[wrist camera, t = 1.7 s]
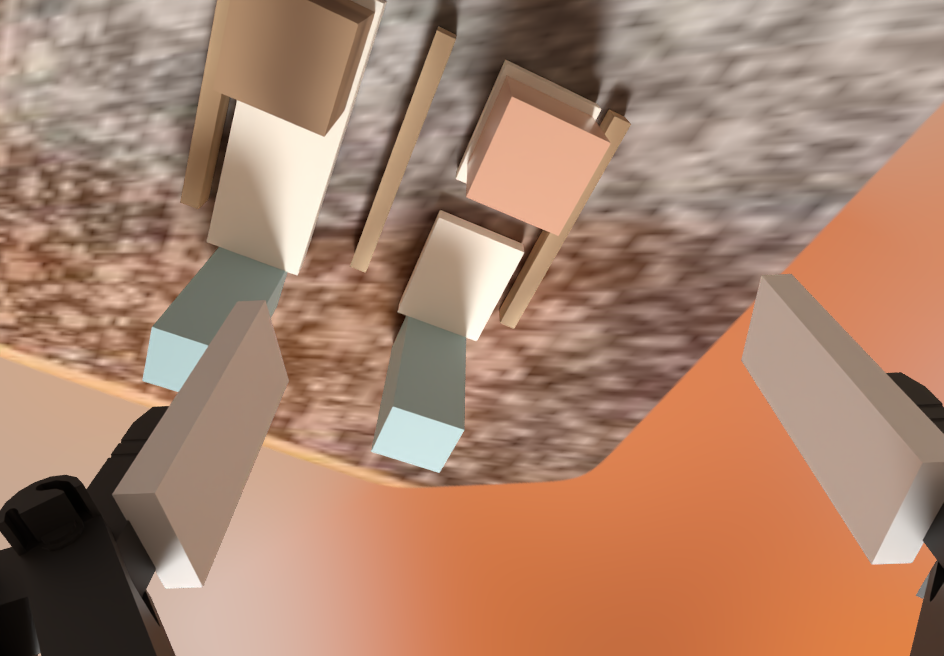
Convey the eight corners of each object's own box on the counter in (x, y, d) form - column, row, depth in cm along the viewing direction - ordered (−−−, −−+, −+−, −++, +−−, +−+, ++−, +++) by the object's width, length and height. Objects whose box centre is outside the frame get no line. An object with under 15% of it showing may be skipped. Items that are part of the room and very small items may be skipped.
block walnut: (249, 69, 30) (212, 89, 26) (272, -37, 28) (236, -34, 23) (344, 111, 31) (324, 136, 27) (375, 12, 29) (358, 24, 24)
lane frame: (191, 192, 35) (180, 202, 34) (241, -70, 28) (229, -70, 27) (512, 315, 40) (514, 328, 38) (624, 116, 33) (631, 124, 31)
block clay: (467, 164, 33) (466, 197, 28) (506, 75, 30) (511, 96, 26) (548, 199, 34) (558, 236, 30) (592, 116, 31) (610, 143, 27)
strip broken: (381, 343, 41) (358, 447, 32) (505, 59, 31) (517, 102, 22) (456, 369, 42) (451, 476, 33) (597, 104, 32) (641, 161, 24)
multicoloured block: (203, 280, 38) (126, 375, 30) (277, -52, 28) (193, -50, 20) (288, 310, 39) (237, 410, 31) (386, 1, 29) (352, 25, 21)
